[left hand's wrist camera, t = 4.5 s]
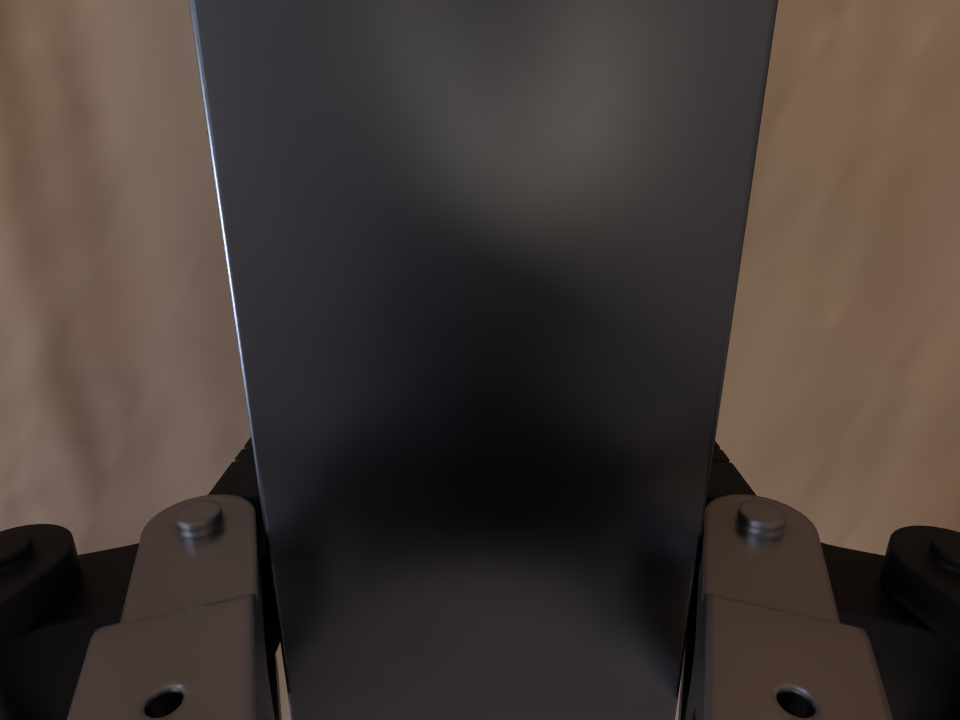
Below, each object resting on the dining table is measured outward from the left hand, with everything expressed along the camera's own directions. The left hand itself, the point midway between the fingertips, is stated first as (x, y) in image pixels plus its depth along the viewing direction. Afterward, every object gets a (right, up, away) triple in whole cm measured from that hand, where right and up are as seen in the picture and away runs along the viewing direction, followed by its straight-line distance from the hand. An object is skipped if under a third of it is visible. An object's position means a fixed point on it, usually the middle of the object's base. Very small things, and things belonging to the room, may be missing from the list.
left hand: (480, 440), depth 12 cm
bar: (0, +10, +1) cm, 10 cm away
